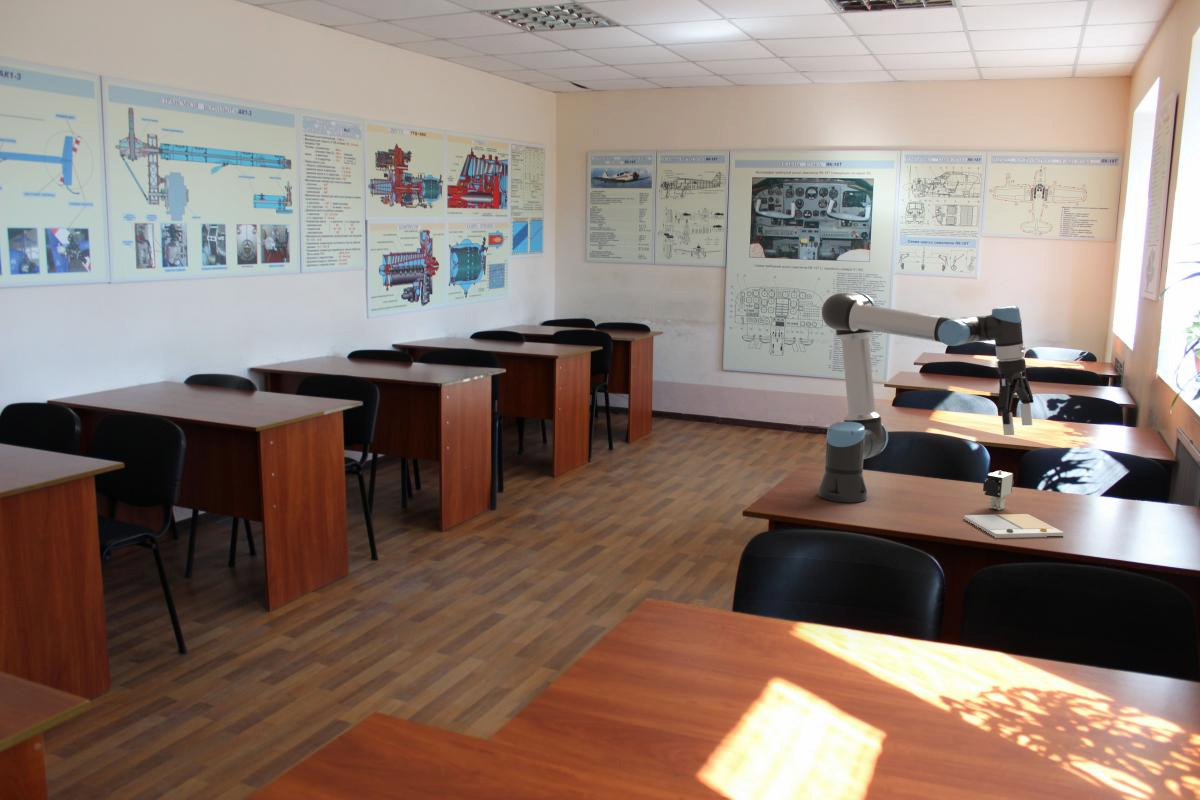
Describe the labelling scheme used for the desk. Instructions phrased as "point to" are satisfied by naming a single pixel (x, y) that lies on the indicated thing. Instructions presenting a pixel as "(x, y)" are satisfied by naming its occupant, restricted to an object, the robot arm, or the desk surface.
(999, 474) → the pneumatic valve
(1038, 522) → the board
